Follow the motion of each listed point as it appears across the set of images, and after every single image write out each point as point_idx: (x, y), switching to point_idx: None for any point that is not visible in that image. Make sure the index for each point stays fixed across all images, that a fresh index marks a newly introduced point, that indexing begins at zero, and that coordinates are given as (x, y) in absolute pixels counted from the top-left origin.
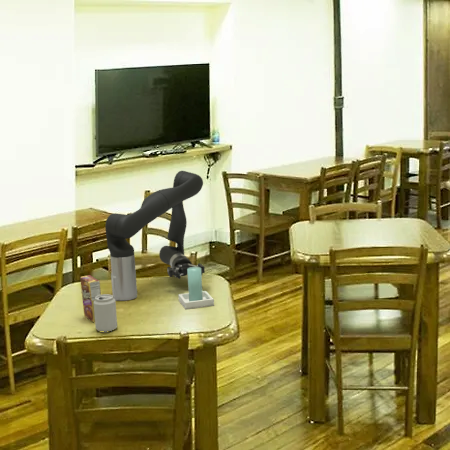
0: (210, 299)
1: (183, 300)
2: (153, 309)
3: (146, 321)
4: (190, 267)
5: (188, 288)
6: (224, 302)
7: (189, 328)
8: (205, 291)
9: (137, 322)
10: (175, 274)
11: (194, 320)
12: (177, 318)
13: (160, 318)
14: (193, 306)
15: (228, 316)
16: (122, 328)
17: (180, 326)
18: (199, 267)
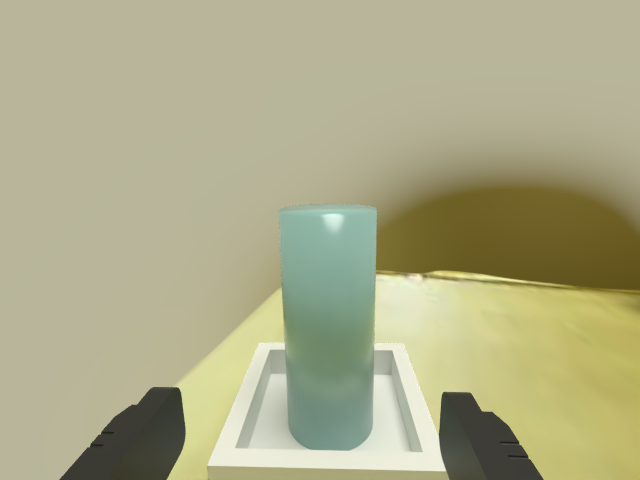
0: (274, 343)
1: (410, 366)
2: (597, 421)
3: (558, 330)
4: (345, 215)
5: (374, 337)
6: (193, 387)
7: (399, 284)
8: (221, 453)
9: (594, 332)
10: (526, 471)
11: (379, 306)
12: (436, 324)
13: (506, 336)
14: None
15: (272, 303)
16: (626, 314)
17: (424, 293)
18: (283, 211)
